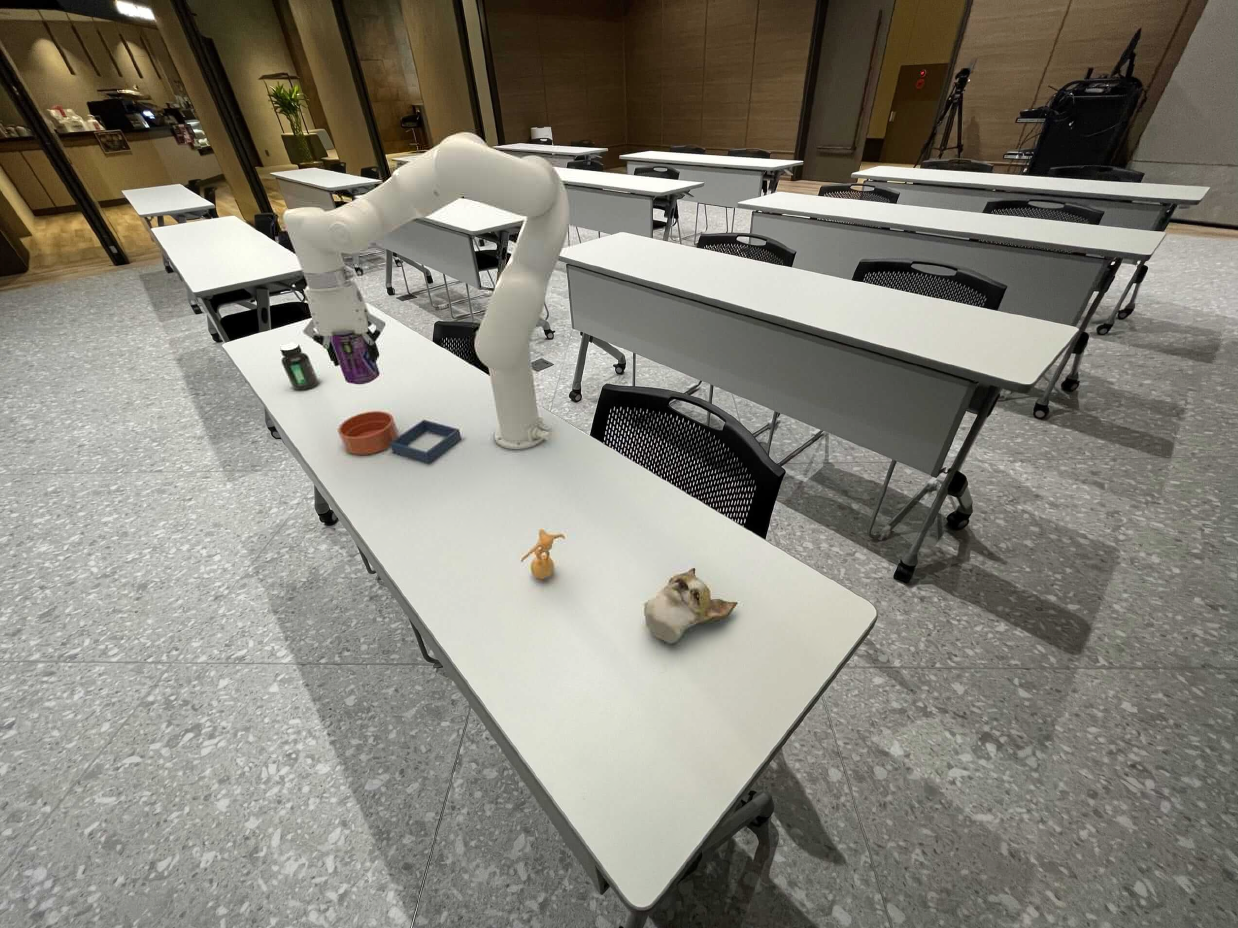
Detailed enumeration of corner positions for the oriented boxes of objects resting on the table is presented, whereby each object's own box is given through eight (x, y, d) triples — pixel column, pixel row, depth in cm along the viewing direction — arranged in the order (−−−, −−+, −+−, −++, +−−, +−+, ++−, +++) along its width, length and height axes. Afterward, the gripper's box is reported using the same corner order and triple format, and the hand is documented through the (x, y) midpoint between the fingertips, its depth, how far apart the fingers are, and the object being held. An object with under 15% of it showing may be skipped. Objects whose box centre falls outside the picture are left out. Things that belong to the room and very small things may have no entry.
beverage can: (368, 388, 108) (349, 335, 101) (339, 385, 110) (319, 333, 103) (387, 373, 114) (370, 322, 107) (359, 371, 115) (341, 320, 108)
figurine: (557, 556, 91) (550, 506, 83) (576, 576, 87) (571, 525, 80) (517, 579, 86) (506, 529, 79) (535, 601, 83) (526, 550, 75)
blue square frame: (461, 439, 122) (459, 429, 121) (429, 464, 114) (426, 453, 113) (426, 429, 126) (423, 419, 125) (393, 453, 118) (389, 442, 117)
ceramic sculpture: (625, 583, 74) (695, 540, 82) (623, 621, 79) (689, 577, 87) (676, 631, 67) (747, 580, 75) (670, 670, 72) (737, 617, 80)
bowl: (409, 434, 125) (404, 417, 122) (371, 461, 116) (364, 443, 113) (373, 424, 129) (367, 407, 126) (334, 449, 120) (326, 431, 117)
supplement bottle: (309, 391, 144) (292, 352, 137) (288, 390, 145) (270, 351, 138) (324, 380, 150) (308, 342, 143) (303, 379, 151) (287, 341, 144)
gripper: (377, 270, 103) (401, 351, 114) (286, 276, 101) (319, 358, 111) (369, 280, 97) (395, 365, 108) (273, 287, 95) (309, 373, 105)
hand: (356, 361), depth 109 cm, fingers closed on beverage can, 6 cm apart
